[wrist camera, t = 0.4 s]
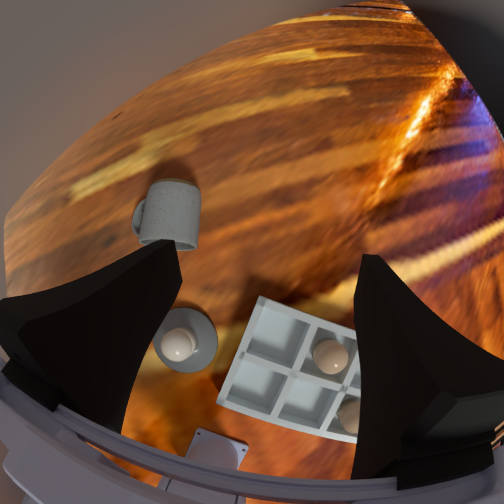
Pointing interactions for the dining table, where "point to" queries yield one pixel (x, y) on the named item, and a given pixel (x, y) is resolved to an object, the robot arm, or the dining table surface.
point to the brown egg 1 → (330, 356)
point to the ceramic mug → (169, 214)
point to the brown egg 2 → (349, 414)
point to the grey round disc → (201, 329)
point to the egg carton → (291, 372)
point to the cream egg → (179, 344)
